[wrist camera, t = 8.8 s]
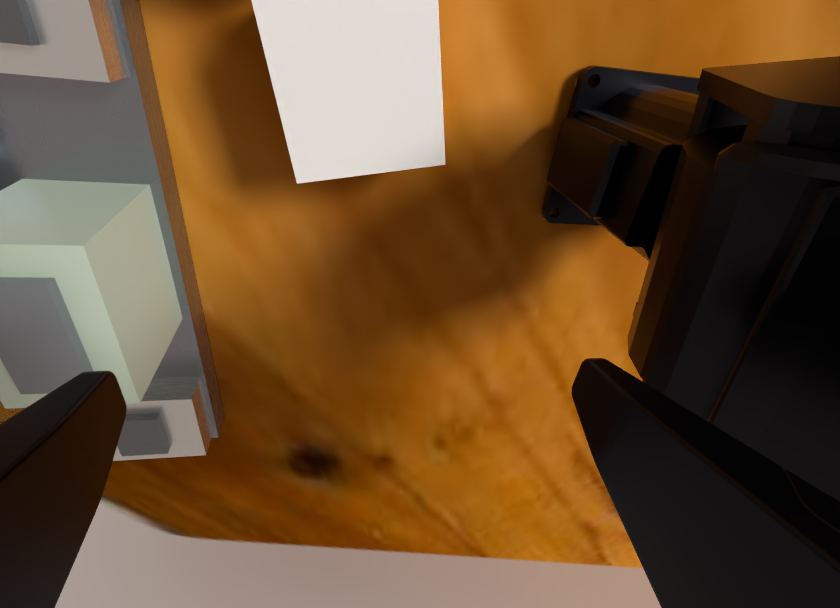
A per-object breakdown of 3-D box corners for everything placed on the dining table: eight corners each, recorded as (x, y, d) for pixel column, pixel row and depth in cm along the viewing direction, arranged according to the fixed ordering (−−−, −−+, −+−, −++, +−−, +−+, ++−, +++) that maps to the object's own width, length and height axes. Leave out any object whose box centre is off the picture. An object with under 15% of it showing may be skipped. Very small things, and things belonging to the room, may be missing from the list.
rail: (117, -103, 12) (55, -135, 10) (224, 416, 25) (209, 467, 22) (-136, -144, 11) (-288, -194, 9) (106, 421, 23) (75, 476, 21)
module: (149, 184, 16) (76, 252, 11) (182, 318, 19) (135, 411, 14) (22, 178, 15) (-111, 249, 10) (79, 319, 18) (-3, 418, 14)
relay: (415, -13, 15) (437, -20, 12) (425, 136, 18) (445, 164, 15) (270, 1, 15) (251, -2, 11) (304, 151, 17) (296, 183, 14)
